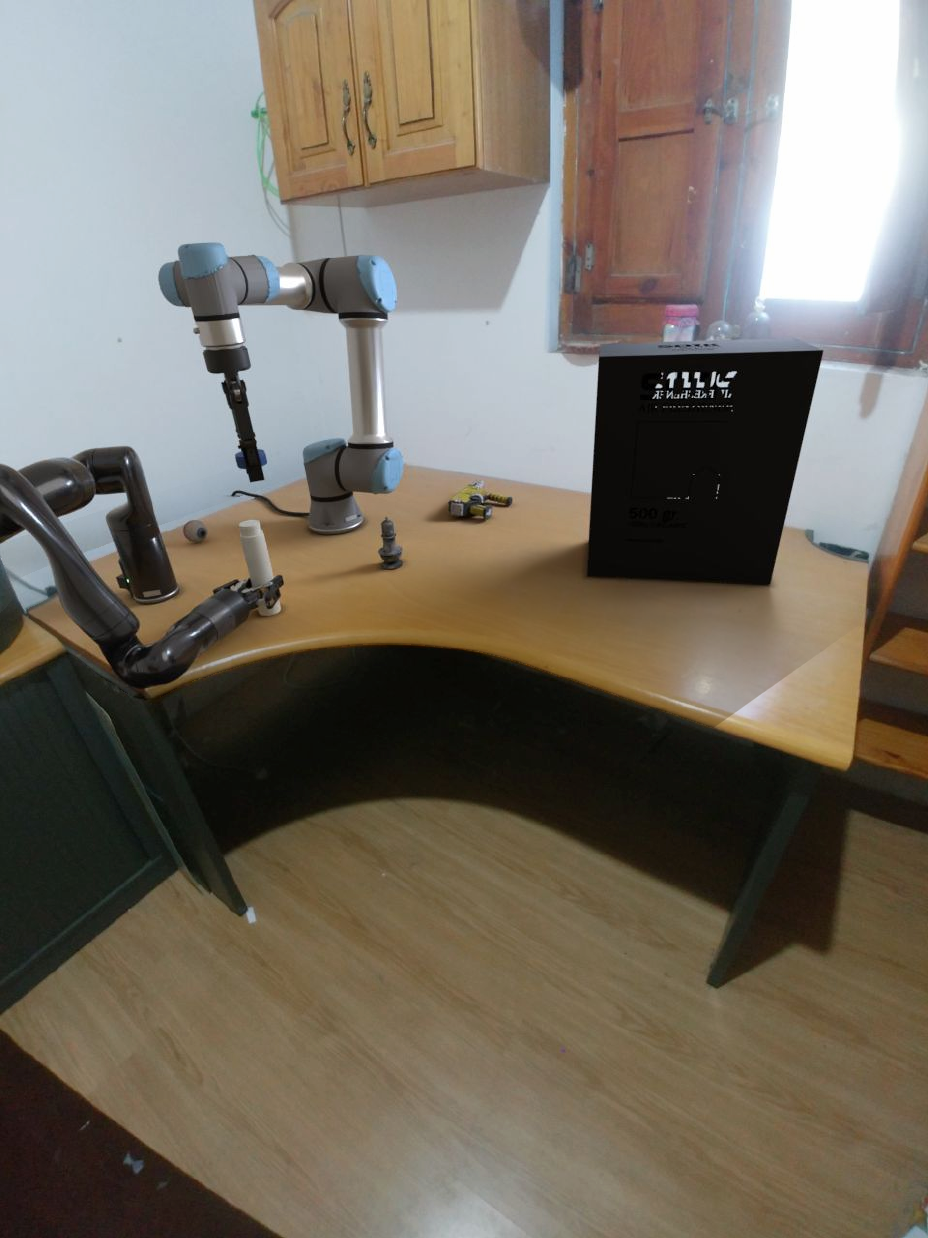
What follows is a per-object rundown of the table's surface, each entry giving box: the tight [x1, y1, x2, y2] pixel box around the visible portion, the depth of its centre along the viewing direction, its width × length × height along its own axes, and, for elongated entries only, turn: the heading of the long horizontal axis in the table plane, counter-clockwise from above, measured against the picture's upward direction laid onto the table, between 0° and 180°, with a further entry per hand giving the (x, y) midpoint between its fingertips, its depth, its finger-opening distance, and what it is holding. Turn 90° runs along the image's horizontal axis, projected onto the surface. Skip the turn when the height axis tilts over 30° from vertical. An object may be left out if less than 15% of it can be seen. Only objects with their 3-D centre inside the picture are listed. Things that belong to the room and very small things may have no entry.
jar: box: [238, 519, 282, 617], centre depth 122 cm, size 4×4×20 cm
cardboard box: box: [586, 337, 824, 586], centre depth 127 cm, size 38×20×45 cm, turn 78°
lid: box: [234, 448, 268, 470], centre depth 115 cm, size 6×6×2 cm
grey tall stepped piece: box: [377, 516, 404, 570], centre depth 141 cm, size 6×6×12 cm
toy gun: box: [447, 479, 514, 521], centre depth 175 cm, size 5×24×15 cm
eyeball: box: [182, 519, 208, 544], centre depth 162 cm, size 6×6×6 cm
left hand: (270, 577), depth 126 cm, fingers closed on jar, 4 cm apart
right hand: (255, 476), depth 117 cm, fingers closed on lid, 5 cm apart
